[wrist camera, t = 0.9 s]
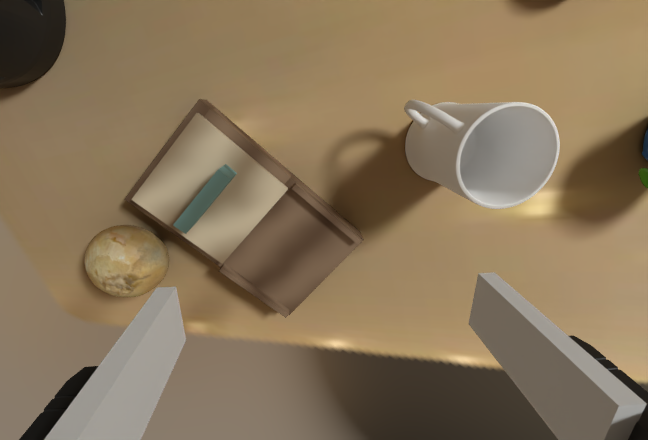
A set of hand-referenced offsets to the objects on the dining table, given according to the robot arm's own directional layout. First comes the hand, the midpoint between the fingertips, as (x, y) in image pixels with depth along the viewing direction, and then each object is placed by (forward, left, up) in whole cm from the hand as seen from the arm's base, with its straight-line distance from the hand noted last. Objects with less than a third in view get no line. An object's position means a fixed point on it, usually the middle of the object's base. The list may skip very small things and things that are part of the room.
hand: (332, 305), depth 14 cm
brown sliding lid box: (-3, -7, -23) cm, 25 cm away
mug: (+6, +13, -24) cm, 27 cm away
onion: (-10, -19, -24) cm, 32 cm away
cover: (-8, -7, -21) cm, 23 cm away
